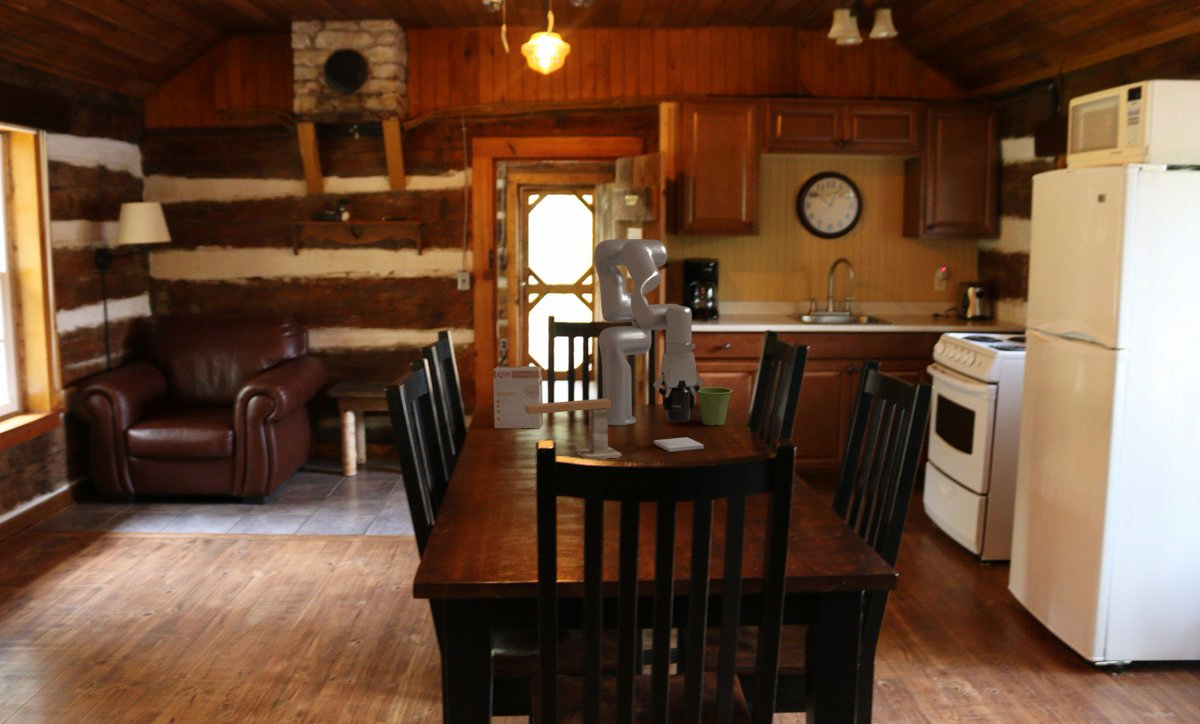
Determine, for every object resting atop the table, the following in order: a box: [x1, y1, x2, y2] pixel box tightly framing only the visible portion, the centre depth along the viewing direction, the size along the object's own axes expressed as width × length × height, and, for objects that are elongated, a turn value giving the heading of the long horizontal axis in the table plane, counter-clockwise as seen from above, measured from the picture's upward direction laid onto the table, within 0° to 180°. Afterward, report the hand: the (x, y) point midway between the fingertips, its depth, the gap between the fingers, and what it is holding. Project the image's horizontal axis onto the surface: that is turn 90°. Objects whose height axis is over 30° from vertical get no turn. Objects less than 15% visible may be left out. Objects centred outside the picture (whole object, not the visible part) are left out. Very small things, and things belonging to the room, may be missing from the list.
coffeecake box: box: [492, 365, 544, 430], centre depth 321 cm, size 15×7×20 cm, turn 84°
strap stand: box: [575, 408, 623, 461], centre depth 281 cm, size 10×10×14 cm
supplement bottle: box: [666, 380, 691, 422], centre depth 291 cm, size 7×7×12 cm
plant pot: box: [696, 386, 733, 427], centre depth 323 cm, size 12×12×11 cm
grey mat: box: [653, 436, 704, 453], centre depth 293 cm, size 11×11×1 cm
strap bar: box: [525, 398, 611, 415], centre depth 277 cm, size 4×24×2 cm, turn 111°
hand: (678, 408), depth 291 cm, fingers closed on supplement bottle, 6 cm apart
